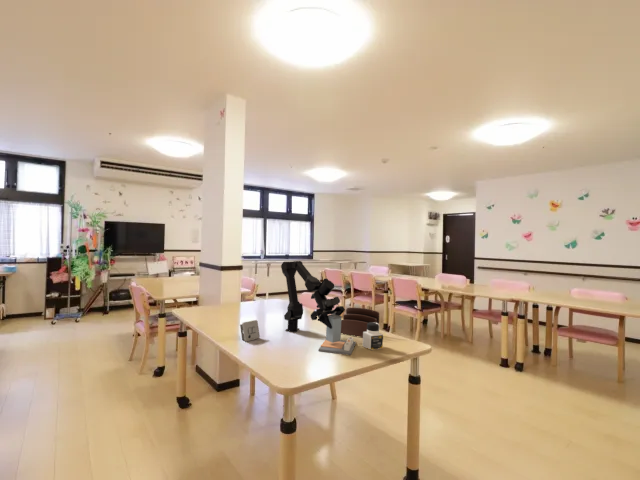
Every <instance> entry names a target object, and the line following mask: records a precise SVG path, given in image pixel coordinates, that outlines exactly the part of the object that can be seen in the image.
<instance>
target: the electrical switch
mask: <svg viewBox="0 0 640 480" xmlns="http://www.w3.org/2000/svg"><path fill="white" fill-rule="evenodd" d="M258 321H259V320H257V319H253V320H250V321H244V322H241V323H242V324H239V326H240V327H239V328H240V334H241V341H244V342H251V341H253V340H257V339H260V337H261V336H260V328H259V322H258Z"/></svg>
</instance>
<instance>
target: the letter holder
mask: <svg viewBox="0 0 640 480" xmlns="http://www.w3.org/2000/svg"><path fill="white" fill-rule="evenodd" d="M342 318H343V319H341V333H343V334H342V335H345V334H349V335H348V336H351V335H355V336H354V337H357V336H361V337H360V338H363V332H366V331H367V324H368V323H369V322H375V323H378V324H379V325H380V312H379V311H376V310H373V309H369V308H365V307H364V308H363V307H362V308H361V307H347V308H346V309H345V313H344V314H343V316H342Z"/></svg>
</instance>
